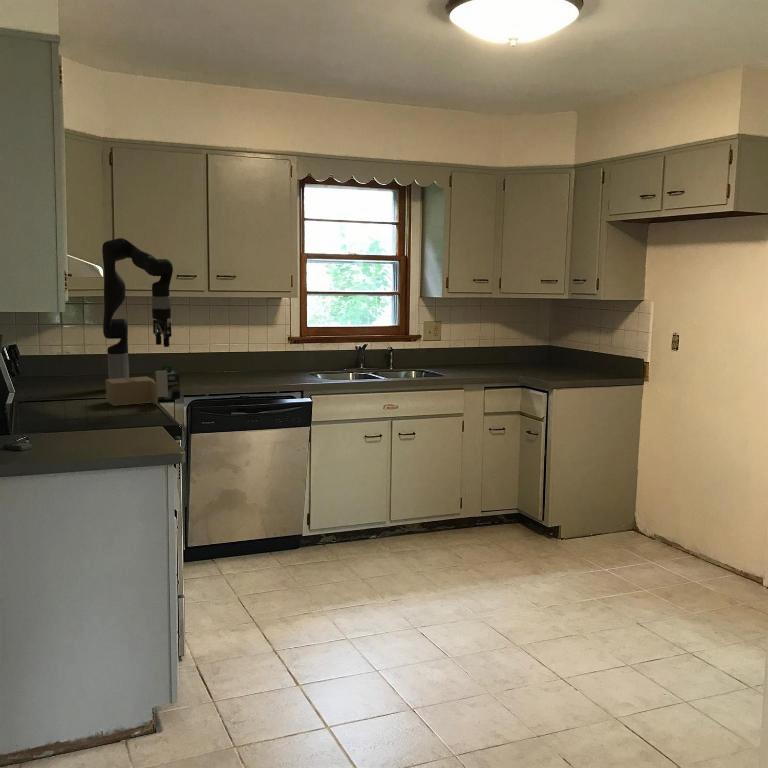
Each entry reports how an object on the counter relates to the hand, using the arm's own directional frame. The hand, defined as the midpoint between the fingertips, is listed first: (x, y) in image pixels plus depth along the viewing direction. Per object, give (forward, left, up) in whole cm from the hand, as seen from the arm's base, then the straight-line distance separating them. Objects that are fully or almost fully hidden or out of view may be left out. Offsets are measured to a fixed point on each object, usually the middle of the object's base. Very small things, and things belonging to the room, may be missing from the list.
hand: (162, 345), depth 349 cm
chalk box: (-17, +6, -26) cm, 32 cm away
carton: (-13, -11, -26) cm, 31 cm away
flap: (-3, -1, -25) cm, 26 cm away
